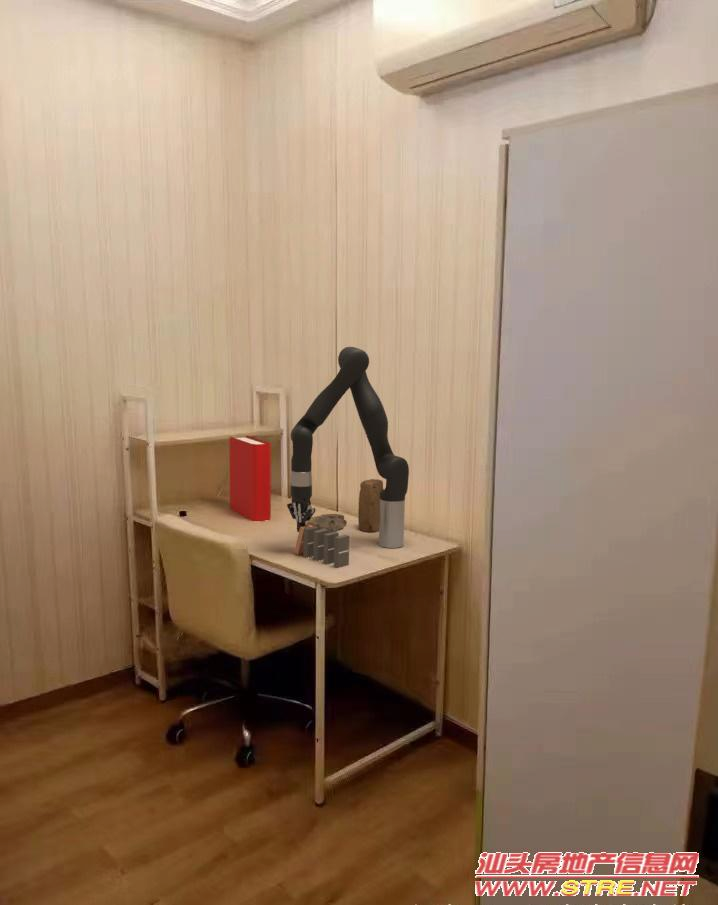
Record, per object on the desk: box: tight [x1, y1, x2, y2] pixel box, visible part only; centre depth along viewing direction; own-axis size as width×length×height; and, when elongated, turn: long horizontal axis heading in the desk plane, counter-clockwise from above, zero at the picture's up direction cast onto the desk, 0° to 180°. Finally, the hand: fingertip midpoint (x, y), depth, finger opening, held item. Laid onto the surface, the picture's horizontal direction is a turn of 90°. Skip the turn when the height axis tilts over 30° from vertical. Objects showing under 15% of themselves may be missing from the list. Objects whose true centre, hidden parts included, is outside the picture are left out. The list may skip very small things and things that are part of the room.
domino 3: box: [312, 529, 328, 562], centre depth 250 cm, size 2×5×10 cm, turn 137°
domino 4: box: [322, 531, 340, 565], centre depth 246 cm, size 2×5×10 cm, turn 136°
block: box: [357, 478, 385, 533], centre depth 290 cm, size 11×8×20 cm
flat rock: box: [305, 513, 348, 533], centre depth 294 cm, size 14×5×20 cm
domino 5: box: [333, 534, 350, 568], centre depth 243 cm, size 2×5×10 cm, turn 137°
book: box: [229, 435, 272, 522], centre depth 310 cm, size 27×8×32 cm, turn 31°
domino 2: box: [303, 526, 318, 559], centre depth 253 cm, size 2×5×10 cm, turn 136°
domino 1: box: [293, 525, 313, 556], centre depth 256 cm, size 2×5×10 cm, turn 136°
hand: (300, 532), depth 257 cm, fingers closed
